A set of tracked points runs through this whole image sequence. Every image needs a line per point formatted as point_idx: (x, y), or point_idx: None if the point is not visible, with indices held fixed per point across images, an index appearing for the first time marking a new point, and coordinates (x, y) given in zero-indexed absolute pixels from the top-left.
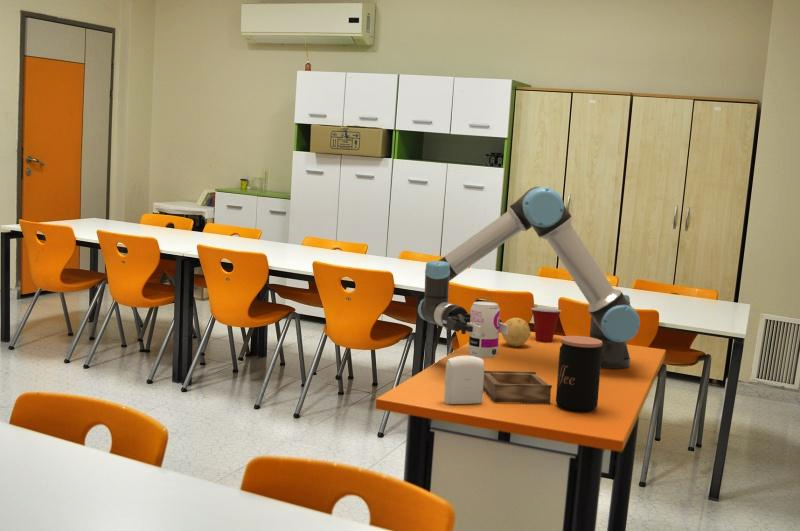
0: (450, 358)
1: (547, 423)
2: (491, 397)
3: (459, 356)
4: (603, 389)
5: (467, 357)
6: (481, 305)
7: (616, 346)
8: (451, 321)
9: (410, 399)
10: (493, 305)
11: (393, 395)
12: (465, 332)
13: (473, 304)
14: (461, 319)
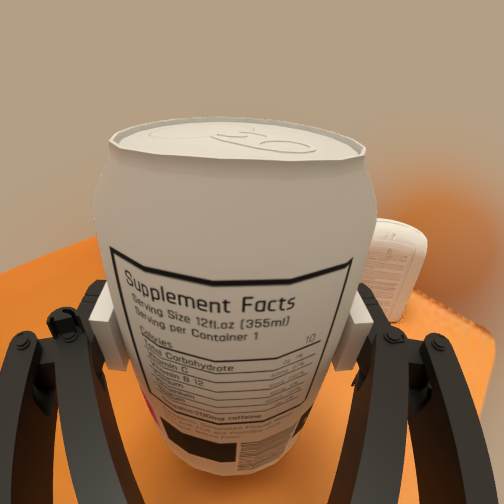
0: (422, 234)
1: None
2: None
3: (404, 226)
4: (11, 304)
5: (387, 219)
6: (315, 132)
7: None
8: (472, 418)
9: (456, 337)
10: (227, 118)
11: (484, 359)
12: (356, 375)
13: (364, 163)
14: (379, 483)
